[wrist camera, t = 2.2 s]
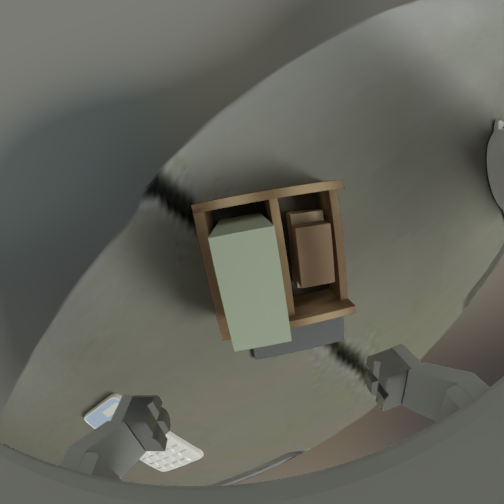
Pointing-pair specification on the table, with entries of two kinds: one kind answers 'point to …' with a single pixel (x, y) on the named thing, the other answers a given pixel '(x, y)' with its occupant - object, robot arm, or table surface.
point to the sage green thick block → (250, 281)
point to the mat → (306, 338)
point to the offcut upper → (313, 253)
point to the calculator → (169, 459)
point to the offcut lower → (299, 218)
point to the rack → (284, 253)
